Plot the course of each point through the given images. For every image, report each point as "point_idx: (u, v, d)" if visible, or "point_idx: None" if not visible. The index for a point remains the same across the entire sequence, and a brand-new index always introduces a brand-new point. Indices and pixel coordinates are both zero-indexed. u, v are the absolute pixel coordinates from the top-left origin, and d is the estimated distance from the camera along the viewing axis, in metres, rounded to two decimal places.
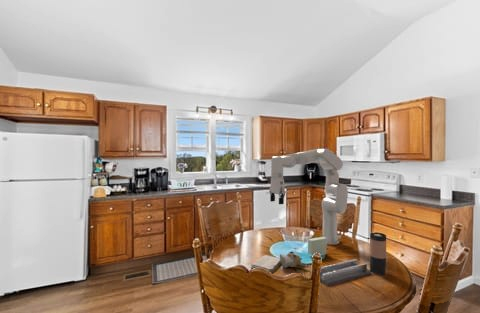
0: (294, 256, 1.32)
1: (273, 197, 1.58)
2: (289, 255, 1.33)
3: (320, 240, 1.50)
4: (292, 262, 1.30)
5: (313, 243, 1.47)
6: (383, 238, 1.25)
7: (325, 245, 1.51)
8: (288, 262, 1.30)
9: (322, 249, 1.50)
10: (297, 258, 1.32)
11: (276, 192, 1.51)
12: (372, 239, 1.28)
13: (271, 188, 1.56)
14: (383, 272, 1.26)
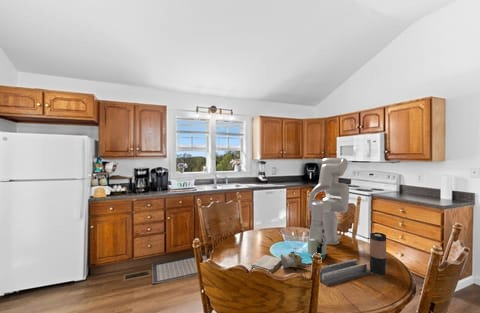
0: (295, 256, 1.32)
1: None
2: (290, 255, 1.32)
3: None
4: (293, 262, 1.30)
5: (313, 243, 1.47)
6: (383, 238, 1.25)
7: (325, 245, 1.51)
8: (289, 262, 1.30)
9: (322, 249, 1.50)
10: (298, 258, 1.32)
11: (317, 240, 1.47)
12: (372, 239, 1.28)
13: (311, 235, 1.52)
14: (383, 272, 1.26)
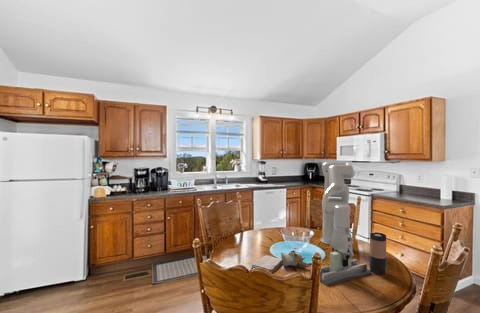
0: (295, 255, 1.33)
1: None
2: (290, 254, 1.34)
3: None
4: (293, 261, 1.32)
5: (336, 258, 1.23)
6: (383, 238, 1.25)
7: (350, 259, 1.27)
8: (289, 261, 1.32)
9: None
10: (298, 257, 1.33)
11: (342, 251, 1.23)
12: (372, 239, 1.28)
13: (333, 243, 1.28)
14: (383, 272, 1.26)
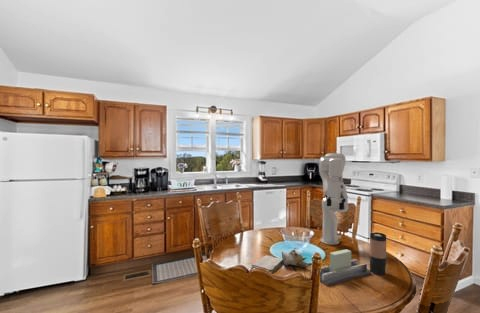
0: (295, 254, 1.34)
1: (330, 202, 1.50)
2: (290, 253, 1.35)
3: (344, 254, 1.25)
4: (293, 260, 1.33)
5: (336, 258, 1.23)
6: (383, 238, 1.25)
7: (350, 259, 1.27)
8: (288, 260, 1.33)
9: (347, 265, 1.26)
10: (298, 257, 1.33)
11: (336, 197, 1.42)
12: (372, 239, 1.28)
13: (328, 192, 1.47)
14: (383, 272, 1.26)
